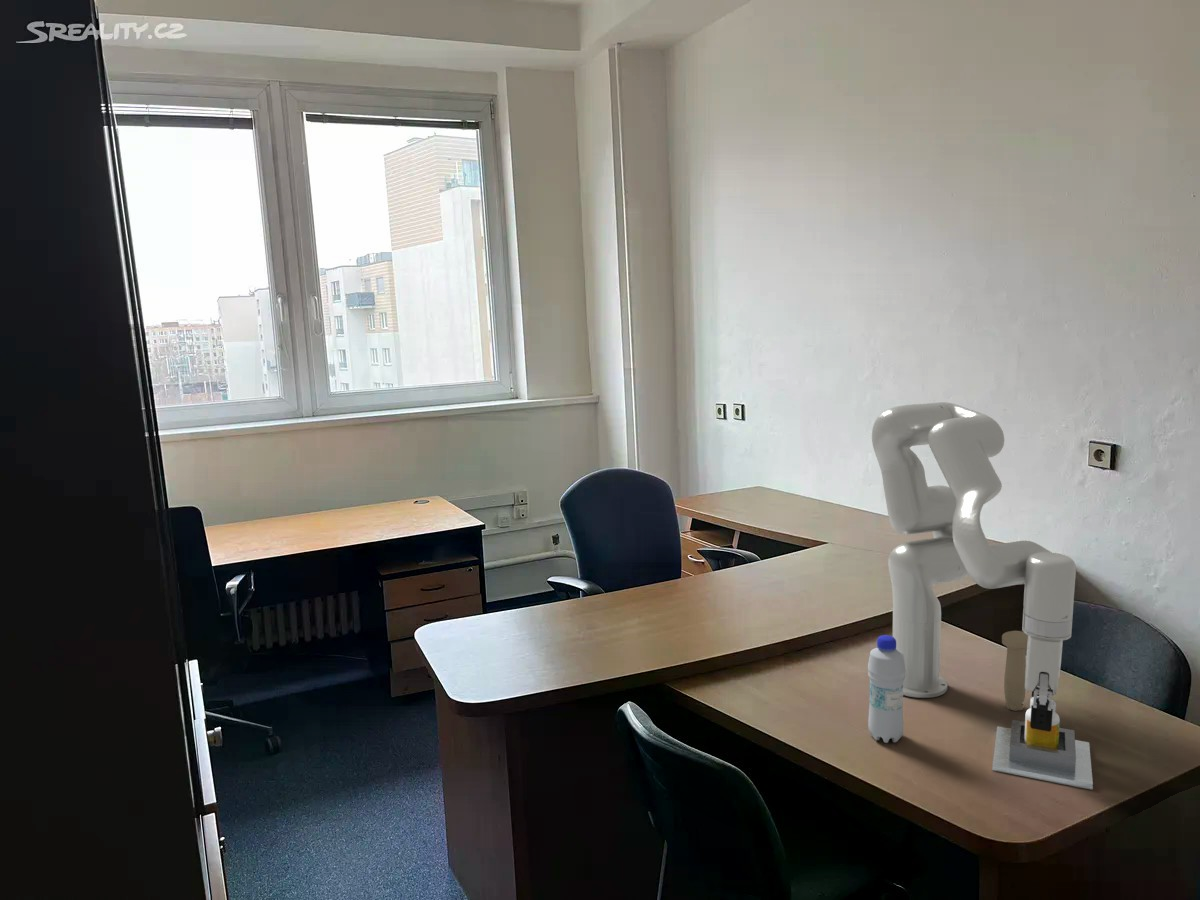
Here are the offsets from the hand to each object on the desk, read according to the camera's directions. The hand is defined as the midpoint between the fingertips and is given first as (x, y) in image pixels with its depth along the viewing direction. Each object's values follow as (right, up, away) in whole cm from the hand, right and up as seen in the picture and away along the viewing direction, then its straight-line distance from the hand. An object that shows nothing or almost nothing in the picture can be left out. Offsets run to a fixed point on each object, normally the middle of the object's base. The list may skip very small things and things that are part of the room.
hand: (1040, 716), depth 147 cm
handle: (+5, -5, +20) cm, 21 cm away
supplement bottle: (0, -7, +1) cm, 7 cm away
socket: (+1, -8, +1) cm, 8 cm away
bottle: (-24, -7, +10) cm, 27 cm away
